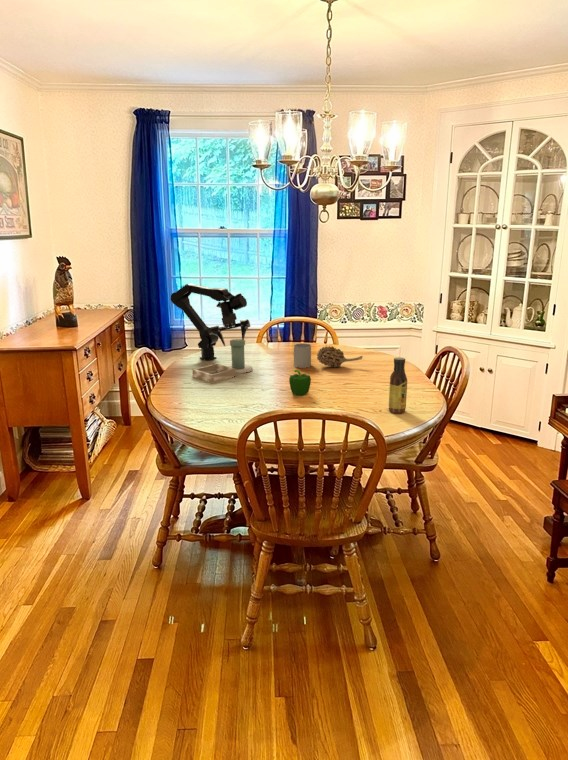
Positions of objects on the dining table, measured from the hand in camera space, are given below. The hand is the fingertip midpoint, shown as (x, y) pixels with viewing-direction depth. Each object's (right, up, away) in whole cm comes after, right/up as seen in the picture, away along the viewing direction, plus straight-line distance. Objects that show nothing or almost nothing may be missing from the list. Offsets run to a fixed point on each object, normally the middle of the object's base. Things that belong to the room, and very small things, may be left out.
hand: (234, 344), depth 270 cm
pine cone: (+51, -11, -3) cm, 52 cm away
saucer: (+3, -13, -7) cm, 15 cm away
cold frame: (-7, -16, -17) cm, 24 cm away
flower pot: (+3, -12, -7) cm, 14 cm away
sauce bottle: (+65, -29, -64) cm, 96 cm away
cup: (+33, -11, 0) cm, 35 cm away
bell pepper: (+31, -23, -43) cm, 58 cm away
